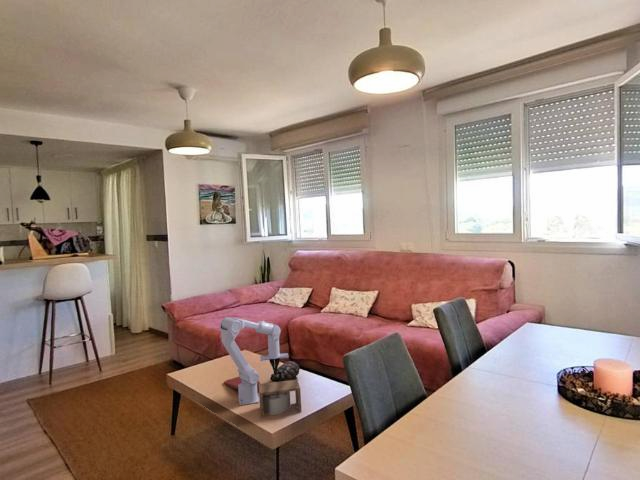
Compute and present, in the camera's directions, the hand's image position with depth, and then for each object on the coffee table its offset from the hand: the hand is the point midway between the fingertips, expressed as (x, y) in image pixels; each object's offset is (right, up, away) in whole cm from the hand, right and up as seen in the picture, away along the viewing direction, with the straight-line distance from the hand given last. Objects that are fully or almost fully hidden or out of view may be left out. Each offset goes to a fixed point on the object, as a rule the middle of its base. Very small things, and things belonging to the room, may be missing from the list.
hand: (275, 372), depth 205 cm
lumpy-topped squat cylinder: (+4, -11, -19) cm, 22 cm away
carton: (-18, -11, +7) cm, 22 cm away
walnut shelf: (+5, -10, -22) cm, 24 cm away
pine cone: (+5, -9, +12) cm, 15 cm away
